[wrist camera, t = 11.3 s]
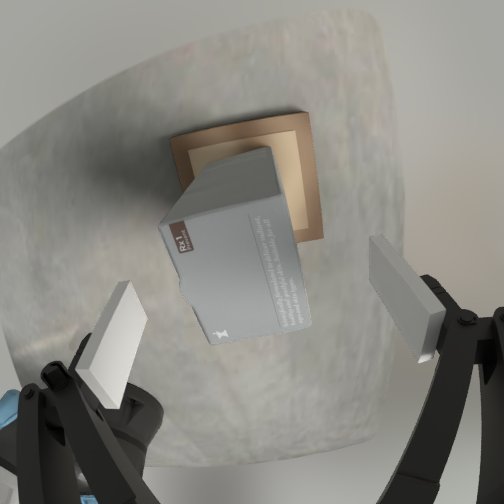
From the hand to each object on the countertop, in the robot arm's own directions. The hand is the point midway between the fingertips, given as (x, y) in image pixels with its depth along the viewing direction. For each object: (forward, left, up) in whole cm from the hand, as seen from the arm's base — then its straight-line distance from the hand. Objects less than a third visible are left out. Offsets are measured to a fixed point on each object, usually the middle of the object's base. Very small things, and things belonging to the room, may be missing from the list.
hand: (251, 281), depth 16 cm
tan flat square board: (0, 0, -17) cm, 17 cm away
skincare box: (0, 0, -15) cm, 15 cm away
